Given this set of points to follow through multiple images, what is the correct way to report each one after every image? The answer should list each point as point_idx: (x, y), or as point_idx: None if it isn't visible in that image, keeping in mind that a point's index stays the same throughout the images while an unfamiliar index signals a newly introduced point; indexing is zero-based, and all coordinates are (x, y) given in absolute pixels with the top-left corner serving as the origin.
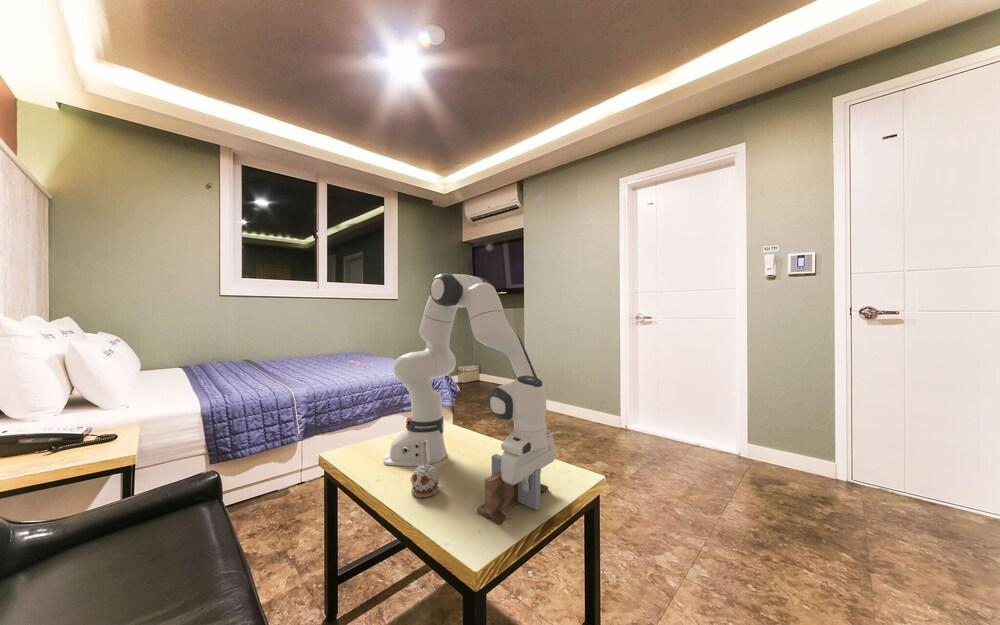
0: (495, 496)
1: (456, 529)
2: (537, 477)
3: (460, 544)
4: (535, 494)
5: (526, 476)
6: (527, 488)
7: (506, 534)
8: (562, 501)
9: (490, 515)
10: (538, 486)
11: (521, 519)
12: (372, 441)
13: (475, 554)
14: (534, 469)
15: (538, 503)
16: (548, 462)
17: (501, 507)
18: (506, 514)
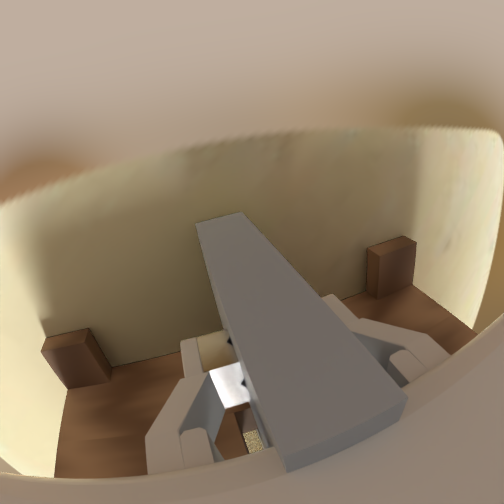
0: (435, 331)
1: (460, 284)
2: (319, 349)
3: (486, 226)
4: (276, 252)
5: (493, 337)
6: (344, 308)
7: (422, 173)
8: (29, 220)
9: (411, 285)
10: (256, 285)
11: (328, 211)
12: None
13: (491, 170)
14: (392, 447)
15: (223, 226)
16: (25, 498)
17: (363, 309)
18: (378, 260)
